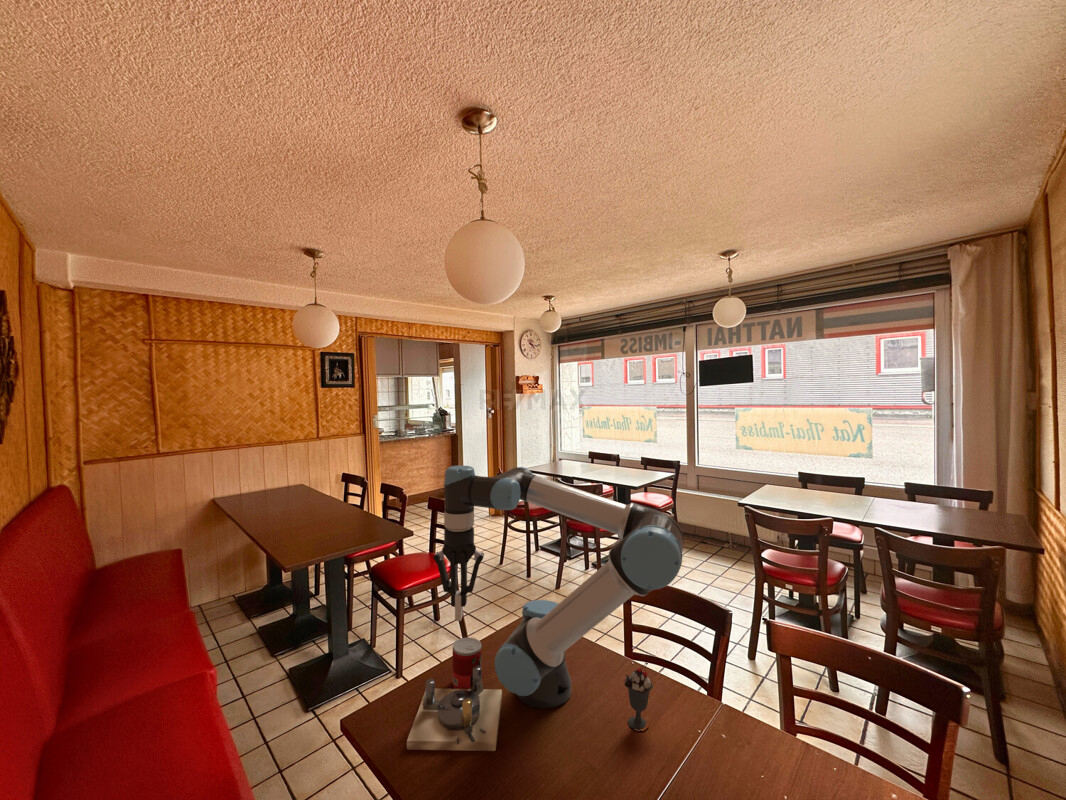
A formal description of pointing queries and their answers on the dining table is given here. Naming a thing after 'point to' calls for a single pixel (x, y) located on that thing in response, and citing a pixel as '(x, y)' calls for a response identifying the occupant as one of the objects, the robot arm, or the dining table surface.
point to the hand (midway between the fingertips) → (458, 618)
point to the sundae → (638, 696)
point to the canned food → (465, 661)
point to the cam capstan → (456, 704)
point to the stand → (437, 737)
